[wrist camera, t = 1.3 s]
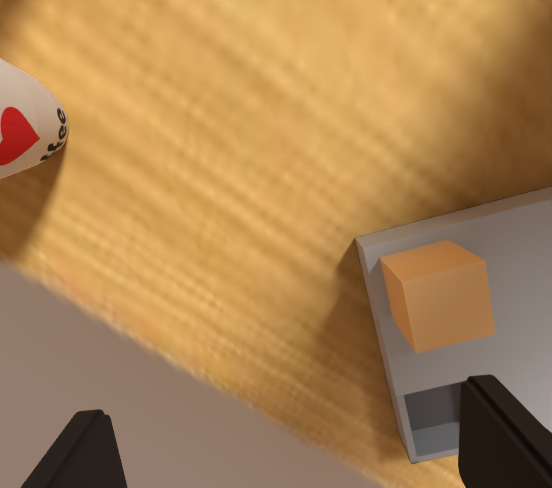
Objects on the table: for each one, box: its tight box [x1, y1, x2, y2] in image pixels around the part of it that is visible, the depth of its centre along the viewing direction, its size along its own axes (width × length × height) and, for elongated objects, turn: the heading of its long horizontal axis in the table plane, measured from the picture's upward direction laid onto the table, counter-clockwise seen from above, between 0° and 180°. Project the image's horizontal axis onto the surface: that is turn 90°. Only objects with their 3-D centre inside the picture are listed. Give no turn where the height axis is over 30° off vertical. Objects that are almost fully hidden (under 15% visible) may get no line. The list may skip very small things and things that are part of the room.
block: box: [379, 240, 495, 353], centre depth 25 cm, size 5×5×5 cm
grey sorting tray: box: [355, 186, 552, 464], centre depth 29 cm, size 24×20×4 cm
